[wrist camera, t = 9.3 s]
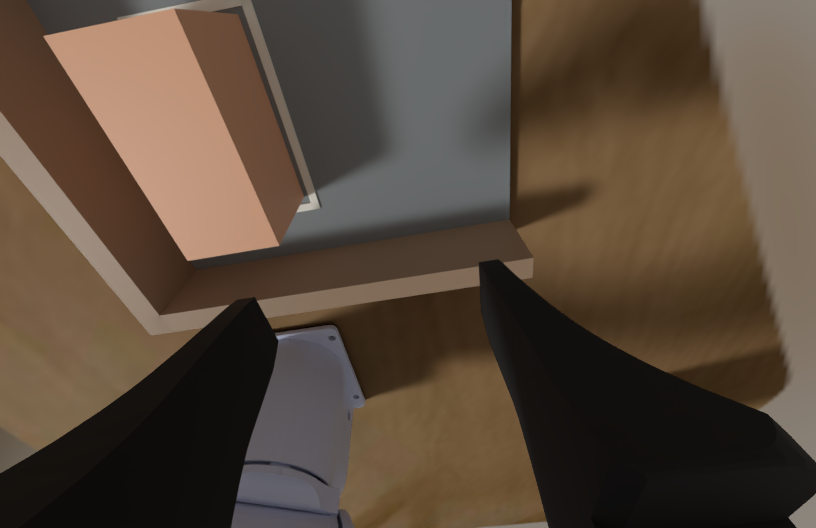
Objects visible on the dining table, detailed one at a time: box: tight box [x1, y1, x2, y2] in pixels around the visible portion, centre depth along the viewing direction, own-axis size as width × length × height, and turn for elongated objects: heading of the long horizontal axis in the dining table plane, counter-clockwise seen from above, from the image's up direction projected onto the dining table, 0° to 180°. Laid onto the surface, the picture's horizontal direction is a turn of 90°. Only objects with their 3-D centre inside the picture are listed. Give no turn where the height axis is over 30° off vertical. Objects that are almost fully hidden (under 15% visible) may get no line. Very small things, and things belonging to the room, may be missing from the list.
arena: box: [0, 0, 534, 335], centre depth 15 cm, size 16×20×4 cm
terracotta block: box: [43, 9, 304, 261], centre depth 14 cm, size 8×4×5 cm, turn 9°
